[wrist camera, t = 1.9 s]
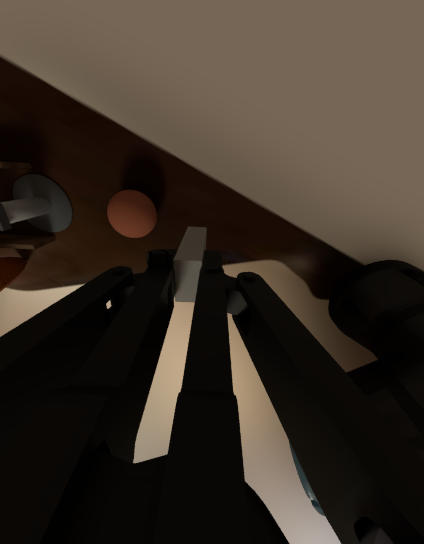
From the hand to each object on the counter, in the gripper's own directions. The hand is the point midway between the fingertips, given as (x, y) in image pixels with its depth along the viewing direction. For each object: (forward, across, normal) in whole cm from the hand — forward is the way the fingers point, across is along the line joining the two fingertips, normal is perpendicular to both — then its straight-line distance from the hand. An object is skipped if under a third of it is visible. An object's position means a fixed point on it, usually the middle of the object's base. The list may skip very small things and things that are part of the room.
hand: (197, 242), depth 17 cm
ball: (+11, +9, 0) cm, 14 cm away
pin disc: (+14, +23, 0) cm, 27 cm away
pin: (+14, +23, 0) cm, 27 cm away
